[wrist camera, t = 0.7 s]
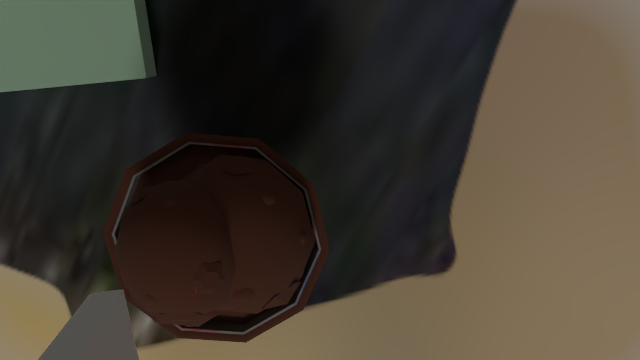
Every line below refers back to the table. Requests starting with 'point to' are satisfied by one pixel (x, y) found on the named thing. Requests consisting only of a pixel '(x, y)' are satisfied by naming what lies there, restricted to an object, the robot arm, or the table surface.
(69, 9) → the putting mat
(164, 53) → the table surface
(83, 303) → the robot arm
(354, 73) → the table surface
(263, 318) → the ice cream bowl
